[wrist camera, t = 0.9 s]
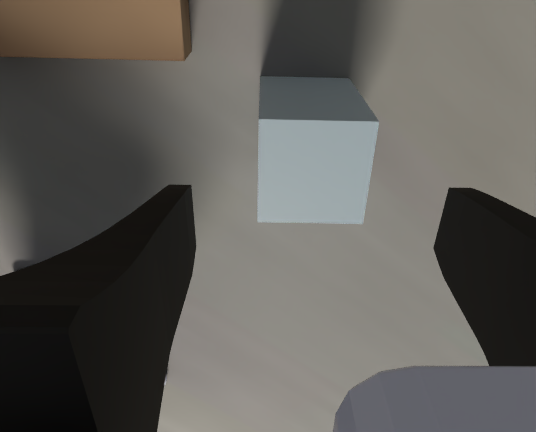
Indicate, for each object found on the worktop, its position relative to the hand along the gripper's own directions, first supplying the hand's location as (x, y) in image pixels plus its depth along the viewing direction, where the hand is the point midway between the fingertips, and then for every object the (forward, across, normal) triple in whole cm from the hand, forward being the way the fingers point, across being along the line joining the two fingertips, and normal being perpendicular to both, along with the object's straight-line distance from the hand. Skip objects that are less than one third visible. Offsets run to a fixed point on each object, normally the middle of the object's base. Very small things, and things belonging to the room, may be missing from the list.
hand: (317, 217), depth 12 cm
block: (+10, 0, 0) cm, 10 cm away
